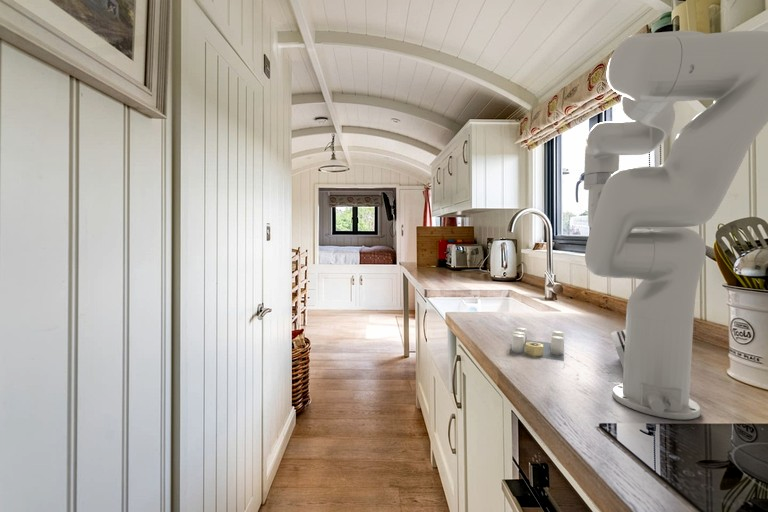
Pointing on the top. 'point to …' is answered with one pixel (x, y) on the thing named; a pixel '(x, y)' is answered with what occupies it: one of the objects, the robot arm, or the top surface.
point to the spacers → (521, 338)
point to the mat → (545, 351)
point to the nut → (534, 349)
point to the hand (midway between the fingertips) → (597, 254)
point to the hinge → (619, 345)
